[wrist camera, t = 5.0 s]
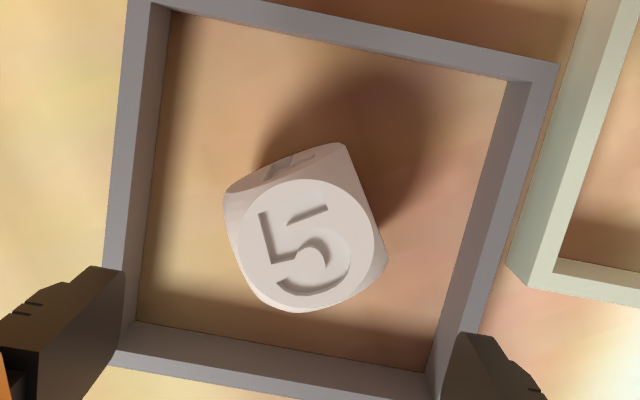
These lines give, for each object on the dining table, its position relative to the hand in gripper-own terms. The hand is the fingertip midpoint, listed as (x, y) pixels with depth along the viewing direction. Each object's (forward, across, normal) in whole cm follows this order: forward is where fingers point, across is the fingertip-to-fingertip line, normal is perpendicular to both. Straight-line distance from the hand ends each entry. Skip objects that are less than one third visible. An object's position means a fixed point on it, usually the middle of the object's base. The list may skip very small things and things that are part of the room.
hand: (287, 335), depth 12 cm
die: (+11, 0, 0) cm, 11 cm away
